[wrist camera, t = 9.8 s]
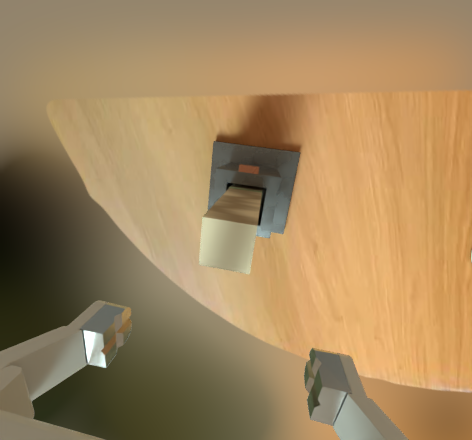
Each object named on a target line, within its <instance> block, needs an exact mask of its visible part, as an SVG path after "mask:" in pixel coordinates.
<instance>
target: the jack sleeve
mask: <svg viewBox="0 0 472 440" xmlns="http://www.w3.org/2000/svg"><path fill="white" fill-rule="evenodd" d="M299 157H300V152H293V151H285V150H277V149H270V148H262V147H255V146H247V145H239V144H232V143H224V142H216V141H214V143H213V155H212V167H211V179H210V191H209V203H208V210H209V209H210V208H211V207H212V206H213V205H214V204H215V203H216V202H217V201H218V200H219V198H220V197H221V196H222V195H223V194H224V193H225V192H226V191H227V190H228V189H229V187H230V186H231V185H232V184H233V183H235V184H242V185H249V186H256V187H263V188H262V198H261V204H260V211H259V218H258V226H257V232H256V236H259V237H265V238H270V234H271V232H274V233H280V234H283V233H284V228H285V223H286V218H287V214H288V209H289V204H290V200H291V195H292V190H293V185H294V181H295V176H296V171H297V166H298V162H299Z"/></svg>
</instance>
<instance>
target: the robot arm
mask: <svg viewBox="0 0 472 440" xmlns="http://www.w3.org/2000/svg"><path fill="white" fill-rule="evenodd" d="M471 261H472V252H471ZM130 315H131V309H130V308H129V307H125V306H121V305H117V304H113V303H108V302H104V301H100V300H99V301H96V302H94V303H93V304H92V305H91V306H90V307H89V308H88V309H86V310H85V311H84V312H83V313H82V314H81V315H80V316H78V317H77V318H76V319H75V320H74V321H73V322H72V323H70V324H69V325H68V326H67V327H66V326H62V327H60V328H58V329H55V330H52V331H50V332H48V333H45V334H43V335H40V336H38V337H35V338H33V339H30V340H28V341H25V342H23V343H21V344H18V345H15V346H13V347H11V348H8V349H6V350H3V351H1V352H0V440H104V439H101V438H97V437H94V436H90V435H87V434H83V433H79V432H76V431H72V430H69V429H66V428H62V427H59V426H55V425H52V424H48V423H45V422H41V421H37V420H35V419H32V418H33V417H34V409H33V406H32V402H31V401H32V400H34V399H36V398H37V397H39V396H40V395H42V394H43V393H44V392H46V391H48V390H49V389H51V388H52V387H54V386H55V385H57V384H58V383H60V382H61V381H63V380H64V379H66V378H68V377H69V376H70V375H72V374H74V373H75V372H76V371H78V370H80V369H81V368H83V367H84V366H86V365H87V364H91V365H96V366H100V367H104V368H106V367H107V366H108V365H109V363H110V362H111V361H112V359H113V358H114V357H115V355H116V354H117V348H118V347H120V346H122V345H123V344H124V343H125V342H126V340H127V338H128V337H129V334H130V332H131V328H132V322H131V321H130V319H129V317H130ZM309 356H310V360H309V361H308V362H307V363H306V366H305V373H304V380H305V388H306V390H307V391H308V392H309V396H308V399H307V402H308V409H309V415H310V419H311V420H314V421H318V422H321V423H325V424H328V425H331V426H333V428H334V430H335V432H336V433H337V435H338V437H339V438H340V440H408V438H407V437H406V436H405V435H404V434H403V433H402V432H401V431H400V430H399V429H398V428H397V426H396V425H395V424H394V423H393V422H392V421H391V420H390V419H389V418H388V416H386V414H385V413H384V412H383V411H382V410H381V409H380V408H379V407H378V406H377V404H376V403H375V402H374V401H373V400H372V399H370V398H367V396H366V393H365V391H364V388H363V386H362V383H361V380H360V378H359V375H358V373H357V370H356V367H355V365H354V362H353V360H352V358H351V357H350V356H349V355H344V354H339V353H335V352H330V351H325V350H320V349H316V348H312V349H311V351H310V354H309Z"/></svg>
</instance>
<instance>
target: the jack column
mask: <svg viewBox="0 0 472 440" xmlns="http://www.w3.org/2000/svg"><path fill="white" fill-rule="evenodd" d="M262 188H263V187H256V186H249V185H242V184H235V183H233V184H232V185H231V186H230V187H229V189H228V190H227V191H226V192H225V193H224V194H223V195H222V196H221V197H220V198H219V200H218V201H217V202H216V203H215V204H214V205H213V206H212V207H211V208H210V209H209V210H208V211H207V213H206V214H205V215H204V216H203V218H202V231H201V244H200V257H199V265H202V266H208V267H213V268H219V269H224V270H229V271H235V272H240V273H246V274H250V268H251V262H252V256H253V250H254V244H255V238H256V232H257V226H258V218H259V211H260V204H261V198H262Z"/></svg>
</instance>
